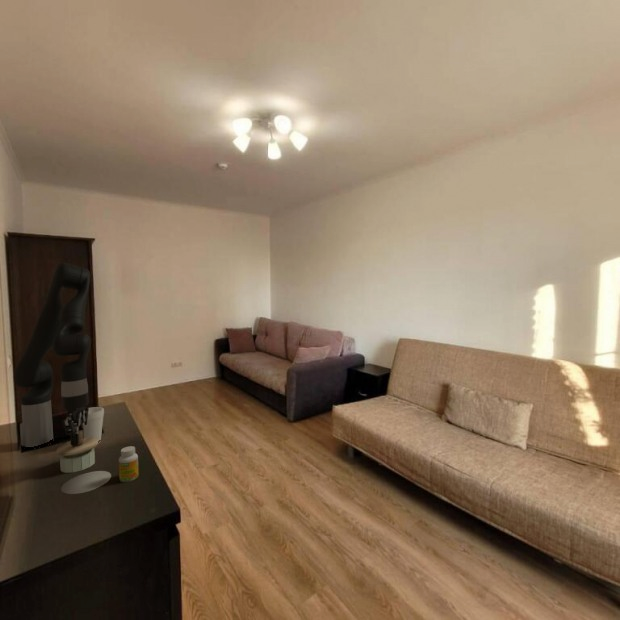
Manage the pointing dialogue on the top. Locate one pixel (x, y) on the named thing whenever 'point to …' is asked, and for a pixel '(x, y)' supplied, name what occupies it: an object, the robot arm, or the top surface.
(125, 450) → the supplement bottle
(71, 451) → the lid
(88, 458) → the bowl
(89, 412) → the foam cup
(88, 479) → the mat
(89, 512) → the top surface
